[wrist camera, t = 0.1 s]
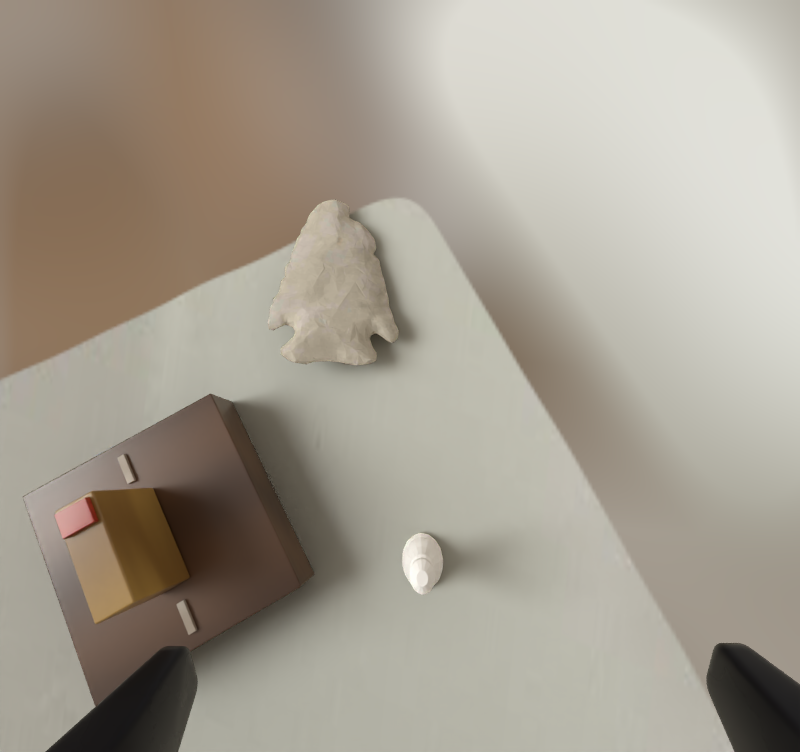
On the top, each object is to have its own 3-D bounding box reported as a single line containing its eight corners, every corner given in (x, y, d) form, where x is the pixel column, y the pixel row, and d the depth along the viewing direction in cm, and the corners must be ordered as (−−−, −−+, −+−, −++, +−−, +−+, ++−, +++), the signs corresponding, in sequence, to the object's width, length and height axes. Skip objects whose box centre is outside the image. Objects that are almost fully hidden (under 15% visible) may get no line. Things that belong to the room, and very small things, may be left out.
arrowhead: (393, 374, 25) (395, 213, 27) (399, 366, 23) (401, 194, 25) (265, 367, 24) (279, 199, 26) (262, 358, 22) (276, 179, 24)
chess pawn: (400, 533, 22) (395, 545, 19) (440, 531, 22) (444, 543, 18) (403, 589, 22) (399, 614, 18) (445, 587, 22) (449, 612, 18)
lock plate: (314, 574, 22) (300, 587, 20) (132, 681, 22) (92, 709, 19) (231, 401, 24) (209, 392, 22) (63, 494, 24) (18, 496, 21)
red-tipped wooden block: (191, 577, 20) (130, 604, 16) (158, 596, 20) (89, 628, 16) (153, 487, 21) (87, 490, 17) (122, 504, 21) (48, 512, 17)
